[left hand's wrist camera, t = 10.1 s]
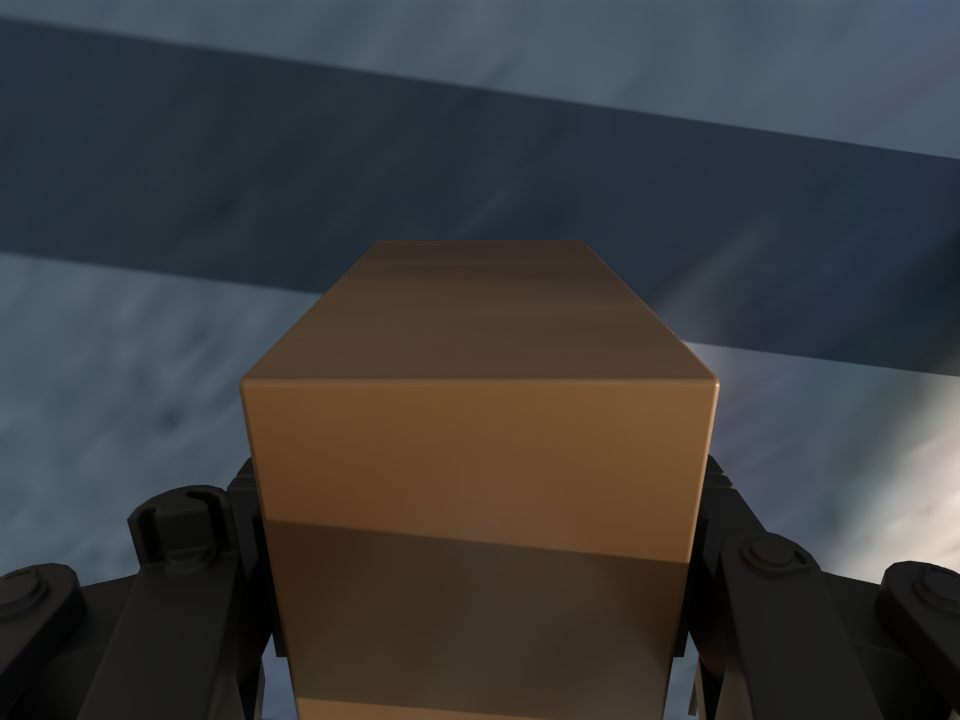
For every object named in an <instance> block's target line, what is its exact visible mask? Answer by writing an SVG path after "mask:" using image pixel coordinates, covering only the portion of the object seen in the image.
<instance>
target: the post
mask: <svg viewBox="0 0 960 720" xmlns="http://www.w3.org/2000/svg"><path fill="white" fill-rule="evenodd" d="M719 387H720V383H719V380H718V377H717V376H716V375H715V374H714V373H713V372H712V371H711V370H710V369H709V368H708V367H707V366H706V365H705V364H704V363H703V362H702V361H701V360H700V359H699V358H698V357H697V356H696V355H695V354H694V353H693V352H692V351H691V350H690V349H689V348H688V347H687V346H686V345H685V344H684V343H683V342H682V341H681V340H680V339H679V338H678V337H677V336H676V335H675V334H674V333H673V332H672V331H671V330H670V329H669V328H668V327H667V326H666V325H665V324H664V323H663V322H662V320H661V319H660V318H659V317H658V316H657V315H656V314H655V313H654V312H653V311H652V310H651V309H650V308H649V307H648V306H647V305H646V304H645V303H644V302H643V301H642V300H641V299H640V298H639V297H638V296H637V295H636V294H635V293H634V292H633V291H632V290H631V289H630V288H629V287H628V286H627V285H626V284H625V283H624V282H623V281H622V280H621V279H620V278H619V277H618V276H617V275H616V274H615V273H614V272H613V271H612V270H611V269H610V268H609V267H608V266H607V265H606V264H605V263H604V262H603V260H602V259H601V258H600V257H599V256H598V255H597V254H596V253H595V252H594V251H593V250H592V249H591V248H590V247H589V246H588V245H587V244H586V243H585V242H584V241H582V240H378V241H376V242H375V243H374V244H373V245H372V246H371V247H370V248H369V249H368V250H367V251H366V252H365V253H364V254H363V255H362V256H361V257H360V258H359V259H358V260H357V261H356V262H355V263H354V264H353V266H352V267H351V268H350V269H349V270H348V271H347V272H346V273H345V274H344V275H343V276H342V277H341V278H340V279H339V280H338V281H337V282H336V283H335V284H334V285H333V286H332V287H331V288H330V289H329V290H328V291H327V292H326V293H325V294H324V295H323V296H322V297H321V298H320V299H319V300H318V301H317V302H316V303H315V304H314V305H313V306H312V307H311V308H310V309H309V310H308V311H307V312H306V313H305V314H304V315H303V316H302V317H301V318H300V319H299V320H298V321H297V322H296V323H295V324H294V325H293V326H292V327H291V328H290V329H289V330H288V332H287V333H286V334H285V335H284V336H283V337H282V338H281V339H280V340H279V341H278V342H277V343H276V344H275V345H274V346H273V347H272V348H271V349H270V350H269V351H268V352H267V353H266V354H265V355H264V356H263V357H262V358H261V359H260V360H259V361H258V362H257V363H256V364H255V365H254V366H253V367H252V368H251V369H250V370H249V371H248V372H247V373H246V374H245V375H244V376H243V377H242V378H241V380H240V383H239V389H240V395H241V401H242V406H243V412H244V418H245V423H246V429H247V435H248V440H249V446H250V452H251V457H252V463H253V468H254V474H255V480H256V485H257V491H258V497H259V502H260V508H261V514H262V519H263V525H264V531H265V536H266V542H267V547H268V553H269V559H270V564H271V570H272V576H273V581H274V587H275V593H276V598H277V604H278V609H279V615H280V621H281V626H282V632H283V638H284V643H285V649H286V655H287V660H288V666H289V672H290V677H291V683H292V688H293V694H294V700H295V705H296V711H297V717H298V720H663V715H664V709H665V703H666V697H667V691H668V686H669V680H670V674H671V668H672V662H673V656H674V650H675V645H676V639H677V633H678V627H679V621H680V615H681V609H682V604H683V598H684V592H685V586H686V580H687V574H688V568H689V563H690V557H691V551H692V545H693V539H694V533H695V528H696V522H697V516H698V510H699V504H700V498H701V492H702V487H703V481H704V475H705V469H706V463H707V457H708V451H709V446H710V440H711V434H712V428H713V422H714V416H715V410H716V405H717V399H718V393H719Z"/></svg>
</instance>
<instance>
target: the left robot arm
mask: <svg viewBox="0 0 960 720" xmlns="http://www.w3.org/2000/svg"><path fill="white" fill-rule="evenodd" d="M127 522H128V525H129V529H130V532H131V536H132V539H133V543H134V546H135V550H136V553H137V557H138V561H139V564H140V570H139V572H138V574H135V575H132V576H128V577H124V578H120V579H115V580H111V581H106V582H102V583H97V584H93V585H88V586H83V587H81V586H80V583H79V580H78V577H77V574H76V572H75V571H74V570H72V569H71V568H70V567H69V566H67V565H62V564H55V563H48V564H41V565H33V566H29V567H26V568H22V569H20V570H16V571H13V572H10V573H8V574H6V575H4V576H2V577H0V720H261V716H262V706H263V697H264V687H265V675H264V668H263V663H262V658H261V657H262V655H263V652H264V650H265V648H266V645H267V643H268V640H269V638H270V636H271V633H272V634H273V640H274V645H275V651H276V656H277V657H287V655H286V649H285V643H284V638H283V632H282V626H281V621H280V615H279V609H278V604H277V598H276V593H275V587H274V581H273V576H272V570H271V564H270V559H269V553H268V547H267V542H266V536H265V531H264V525H263V519H262V514H261V508H260V502H259V497H258V491H257V485H256V480H255V474H254V468H253V463H252V457H250V458H249V459H248V460H247V461H246V462H245V464H244V465H243V467H242V468H241V469H240V471H239V472H238V473H237V477H236V478H234V479H233V480H232V482H231V483H230V485H229V486H228V487H227V491H224V490H223V489H222V488H218V487H214V486H210V485H191V486H186V487H181V488H177V489H172V490H169V491H167V492H164V493H162V494H160V495H157V496H155V497H152V498H151V499H149V500H148V501H146V502H145V503H143V504H142V505H140V506H139V507H137V508H136V509H135V511H134V512H133V513H132V514H131V515H130V517H129V518H128V519H127ZM688 631H689V632H690V634H691V637H692V639H693V641H694V644H695V646H696V649H697V651H698V653H699V658H698V663H697V668H696V673H695V678H694V683H693V688H692V693H691V699H690V704H689V711H688V715H693V716H696V711H697V706H698V714H699V720H960V574H958V573H957V572H955V571H952V570H950V569H947V568H944V567H940V566H937V565H934V564H931V563H924V562H916V561H904V562H897V563H893V564H892V565H891V566H890V567H889V568H887V569H886V570H885V573H884V576H883V579H882V582H881V585H879V584H874V583H870V582H865V581H861V580H856V579H851V578H847V577H842V576H838V575H834V574H830V573H827V572H823V571H821V569H820V567H819V565H818V564H817V562H816V561H815V560H814V558H813V557H812V555H811V554H810V553H808V552H807V551H806V550H804V549H803V548H802V547H801V546H799V545H798V544H797V543H795V542H793V541H791V540H789V539H786V538H784V537H782V536H780V535H778V534H774V533H770V532H767V531H766V530H765V529H764V527H763V526H762V524H761V523H760V522H759V520H758V519H757V518H756V516H755V515H754V513H753V512H752V511H751V509H750V508H749V506H748V505H747V504H746V502H745V501H744V500H743V498H742V497H741V495H740V494H739V493H738V491H737V490H736V489H734V486H733V484H732V483H731V482H730V480H729V479H728V477H727V476H724V472H723V471H722V469H721V468H720V466H719V465H718V464H717V462H716V461H715V460H714V458H713V457H712V456H710V455H709V454H708V457H707V463H706V469H705V475H704V481H703V487H702V492H701V498H700V504H699V510H698V516H697V522H696V528H695V533H694V539H693V545H692V551H691V557H690V563H689V568H688V574H687V580H686V586H685V592H684V598H683V604H682V609H681V615H680V621H679V627H678V633H677V639H676V645H675V650H674V656H673V657H684V653H685V647H686V642H687V636H688Z"/></svg>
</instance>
